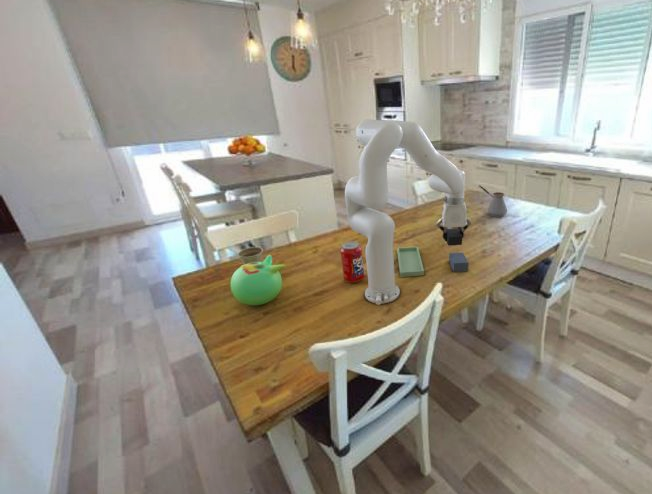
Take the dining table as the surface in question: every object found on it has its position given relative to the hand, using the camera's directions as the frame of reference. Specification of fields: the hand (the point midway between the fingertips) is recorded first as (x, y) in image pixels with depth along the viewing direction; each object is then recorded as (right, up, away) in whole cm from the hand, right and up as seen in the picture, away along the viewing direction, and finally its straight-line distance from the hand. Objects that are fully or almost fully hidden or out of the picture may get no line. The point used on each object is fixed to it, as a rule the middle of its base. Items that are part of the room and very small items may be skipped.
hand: (452, 239), depth 140 cm
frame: (-19, -10, -2) cm, 21 cm away
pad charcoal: (0, -1, 0) cm, 1 cm away
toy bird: (-71, -21, -25) cm, 78 cm away
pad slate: (+2, -11, -5) cm, 13 cm away
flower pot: (-84, -13, -6) cm, 85 cm away
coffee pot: (+28, +15, +53) cm, 62 cm away
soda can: (-40, -16, -13) cm, 45 cm away
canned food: (+4, +2, +24) cm, 25 cm away
